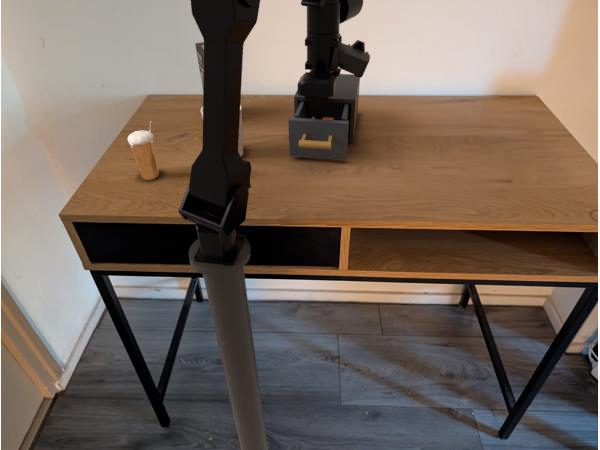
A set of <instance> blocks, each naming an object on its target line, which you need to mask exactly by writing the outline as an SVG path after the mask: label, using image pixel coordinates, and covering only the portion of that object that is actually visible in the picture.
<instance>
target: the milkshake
mask: <svg viewBox="0 0 600 450" xmlns="http://www.w3.org/2000/svg"><path fill="white" fill-rule="evenodd" d="M154 136H155V135H154V134H153V133H152V121H149V125H148V130H145V129H144V130H143V129H142V130H135V131H133V132H132V133H130V134H129V135H128V136H127V143H128V146H129V147H130V150H131V153H132V155H133V158H134V160H135V163H136V165H137V168H138V171H139V173H140V176H141V178H142V179H143V180H144V181H152V180H155V179H157V178H158V177H159V176H160V170H159V169H160V168H159V164H158V163H159V162H158V158H157V157H158V156H157V151H156V143H155V137H154Z"/></svg>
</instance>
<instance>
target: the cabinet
mask: <svg viewBox="0 0 600 450" xmlns="http://www.w3.org/2000/svg"><path fill="white" fill-rule="evenodd" d="M360 84H361V78H359V77H356V76H355V75H354V74H352V73H340V75H339V76H337V77H336V85H335V88H336V89H335V92H334V95H333V96H332V97H329V98H328V102H337V103H350V114H349V129H348V143H350V144H351V143H354V137H355V132H356V125H357V119H358V113H359V112H358V111H359V98H360V86H361V85H360ZM301 101H306V99H305V97H304V96H300V95H298V89H297V90H296V92H295V94H294V96H293V104H294V105H293V108H294V110H293V111H294V112H293V113H294V116H295V113H296V111H297V109H298V106H299V104H300V102H301Z"/></svg>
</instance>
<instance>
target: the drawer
mask: <svg viewBox="0 0 600 450" xmlns="http://www.w3.org/2000/svg"><path fill="white" fill-rule="evenodd" d="M349 114H350V103H337V102H328V103H327V107H326V108H325V110H324V115H323V117H325V118H334V120H323V119H312V117H314V115H313V113H312V111H311V109H310V107H309V105H308V103H307V101H301V102H300V104H299V106H298V109H297V111H296V113H295V115H294V116H293V117H289V118H288V120H287V121H288V122H287V123H288V147H289V149H288V151H289V152H288V153H289V157H296V158H298V157H299V158H311V159H324V160H337V161H347V158H348V143H349V142H348V129H349Z"/></svg>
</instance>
